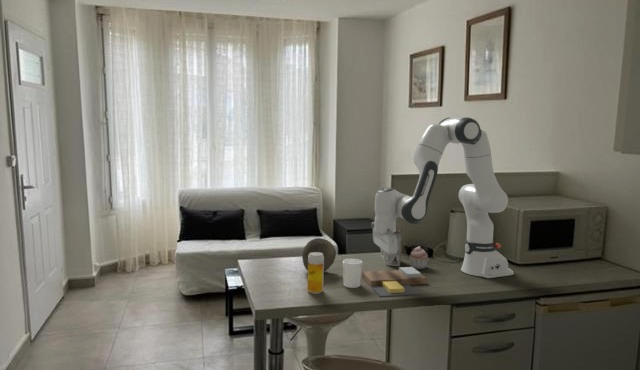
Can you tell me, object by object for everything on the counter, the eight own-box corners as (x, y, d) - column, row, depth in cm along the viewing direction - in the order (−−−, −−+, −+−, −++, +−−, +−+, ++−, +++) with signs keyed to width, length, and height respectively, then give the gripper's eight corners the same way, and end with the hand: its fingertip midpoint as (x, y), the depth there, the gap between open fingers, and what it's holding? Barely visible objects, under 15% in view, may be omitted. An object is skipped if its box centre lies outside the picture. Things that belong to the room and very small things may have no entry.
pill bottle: (307, 288, 186) (307, 251, 185) (322, 288, 187) (323, 251, 185) (307, 294, 180) (308, 256, 179) (323, 294, 181) (324, 255, 179)
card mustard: (396, 284, 193) (396, 280, 192) (404, 292, 184) (404, 288, 184) (381, 285, 191) (382, 281, 191) (389, 293, 183) (389, 289, 182)
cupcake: (432, 269, 215) (433, 248, 214) (414, 271, 212) (415, 249, 211) (421, 263, 224) (422, 243, 223) (404, 265, 221) (405, 244, 219)
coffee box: (387, 260, 229) (388, 227, 227) (400, 261, 228) (402, 228, 226) (386, 265, 220) (387, 231, 218) (400, 266, 219) (401, 232, 217)
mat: (408, 285, 193) (408, 284, 193) (419, 294, 183) (419, 293, 183) (370, 287, 190) (370, 286, 190) (379, 296, 179) (380, 295, 179)
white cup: (355, 290, 186) (356, 265, 185) (338, 286, 191) (339, 261, 189) (364, 284, 193) (365, 260, 192) (347, 280, 197) (348, 257, 196)
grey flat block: (412, 270, 205) (412, 266, 205) (420, 277, 196) (420, 273, 196) (398, 271, 204) (399, 267, 203) (407, 277, 195) (407, 273, 195)
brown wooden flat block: (414, 274, 207) (415, 269, 207) (426, 283, 195) (426, 278, 195) (361, 277, 202) (362, 271, 202) (370, 286, 190) (370, 280, 190)
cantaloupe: (316, 280, 197) (317, 244, 195) (295, 271, 208) (296, 238, 206) (341, 273, 207) (342, 239, 205) (319, 265, 217) (320, 233, 215)
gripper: (401, 232, 188) (401, 265, 190) (384, 221, 208) (383, 252, 210) (386, 233, 187) (386, 267, 189) (370, 222, 207) (370, 253, 209)
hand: (384, 259), depth 200 cm, fingers closed
